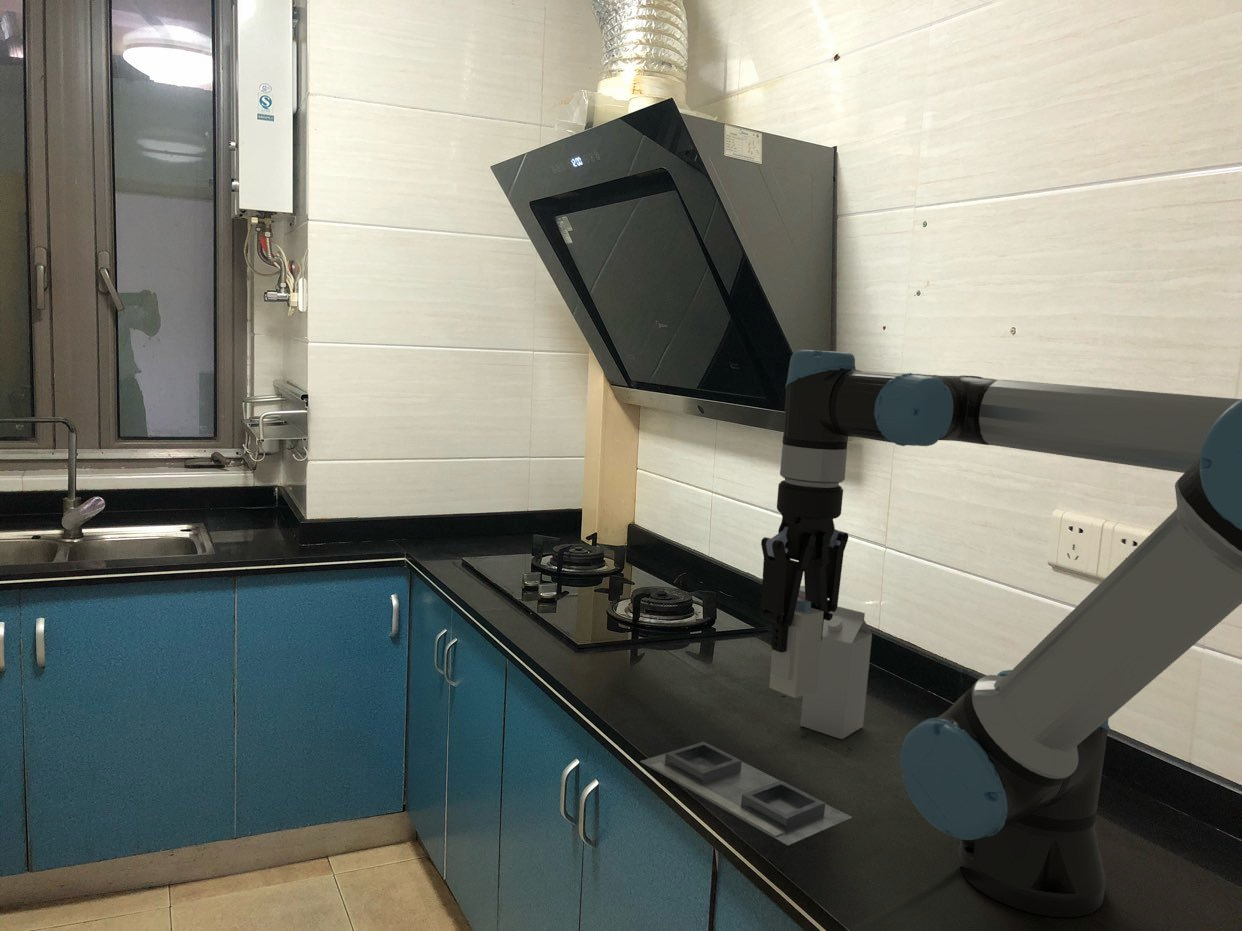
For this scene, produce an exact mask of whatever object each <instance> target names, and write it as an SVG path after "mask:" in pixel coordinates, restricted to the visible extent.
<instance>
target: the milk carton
mask: <svg viewBox="0 0 1242 931" xmlns="http://www.w3.org/2000/svg"><path fill="white" fill-rule="evenodd" d="M829 613H830V614H833V617H832V619H831V620H830V621H828V620H825V619H824V623H823V634H822V640H821V646H820V657H819V668H818V679H817V690H816V692H814V693H811V694H807V695H804V696H802V704H801V715H800V716H801V717H800V726H801V727H804V728H806V729H809V730H812V731H814V732H818V733H822V734H824V735H827V736H830V737H833V738H837V739H839V740H844V739H845V738H847V737H849V736H850V735H852V734H853V733H854V732H857V731H858V730H860V729H862V728H863V726H864V720H865V719H864V718H865V711H866V710H865V709H866V700H867V689H868V680H869V671H870V659H871V648H872V639H873V634H872V632H871V630H870V628H869V626H868V624H867V623H866V621H865V614H866V613H865V612H862V611H860V610H859V611H858V610H854V609H850V608H846V607H842V606H837V609H836V611H835V612H832V611H830V612H829Z"/></svg>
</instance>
